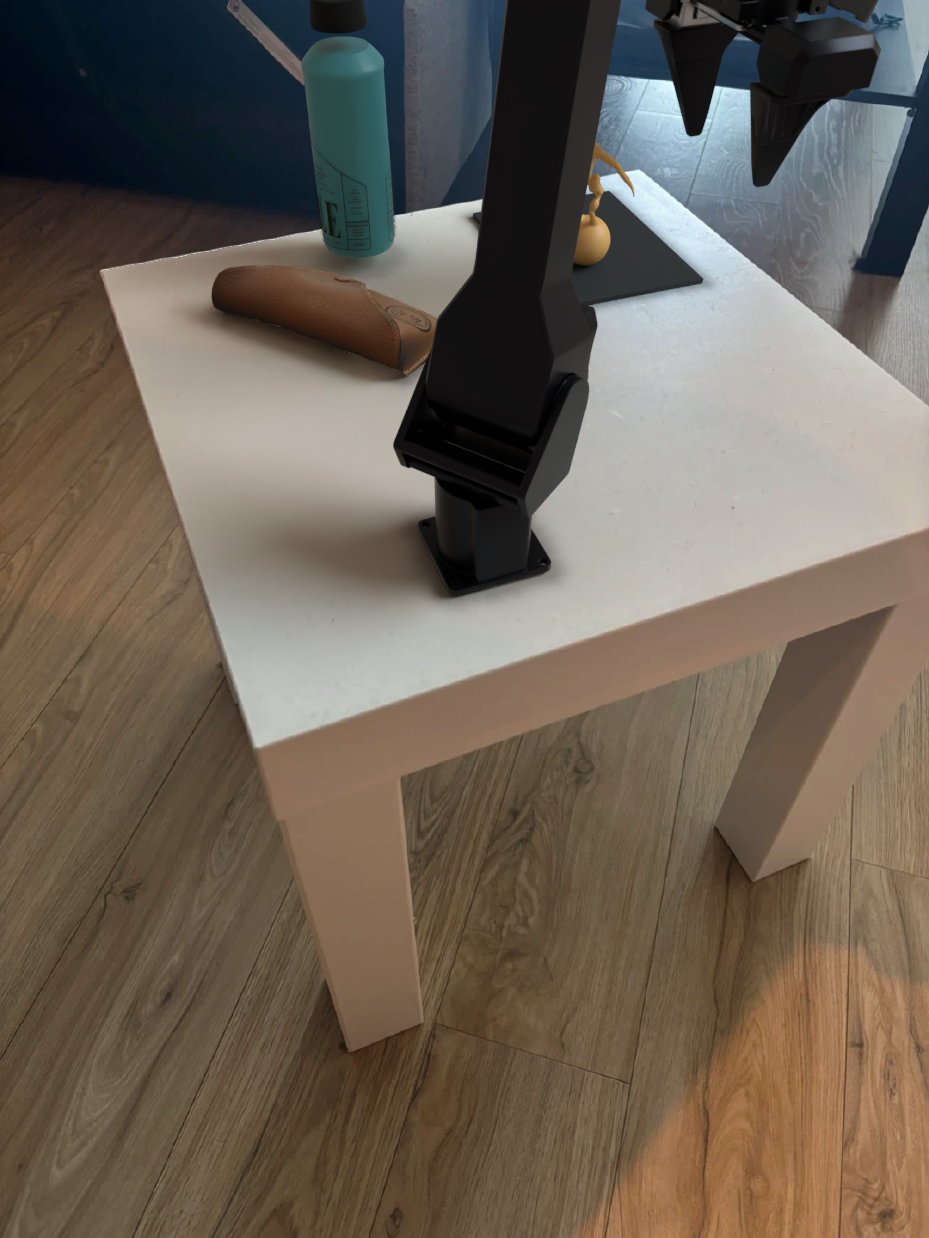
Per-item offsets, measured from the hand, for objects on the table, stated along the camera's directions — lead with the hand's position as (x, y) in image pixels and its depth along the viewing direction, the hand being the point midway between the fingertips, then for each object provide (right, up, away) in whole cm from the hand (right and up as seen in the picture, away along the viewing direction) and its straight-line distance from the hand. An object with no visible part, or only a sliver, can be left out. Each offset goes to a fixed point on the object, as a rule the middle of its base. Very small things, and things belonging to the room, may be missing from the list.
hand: (725, 159), depth 67 cm
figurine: (-9, -3, +13) cm, 16 cm away
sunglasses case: (-29, -10, +8) cm, 31 cm away
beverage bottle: (-28, -1, +15) cm, 32 cm away
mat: (-8, 0, +16) cm, 18 cm away
